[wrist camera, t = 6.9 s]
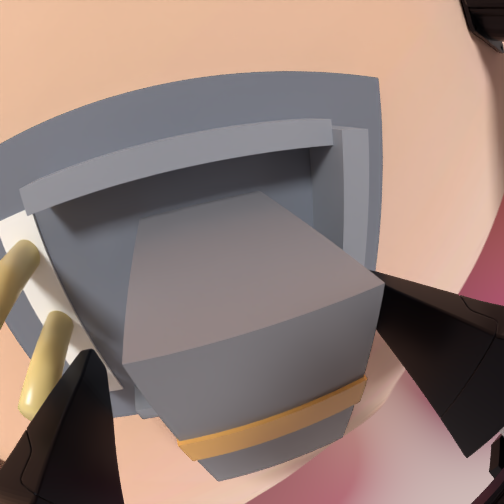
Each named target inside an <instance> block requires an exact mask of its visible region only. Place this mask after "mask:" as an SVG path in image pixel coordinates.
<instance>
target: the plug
mask: <svg viewBox="0 0 504 504" xmlns="http://www.w3.org/2000/svg"><path fill="white" fill-rule="evenodd" d="M384 286H385V283H384V282H383V281H382V280H381V279H379V278H378V277H377V276H376V275H374V274H373V273H372V272H371V271H369V270H368V269H367V268H365V267H364V266H363V265H362V264H360V263H359V262H358V261H356V260H355V259H354V258H352V257H351V256H350V255H349V254H347V253H346V252H345V251H343V250H342V249H341V248H339V247H338V246H337V245H335V244H334V243H333V242H331V241H330V240H329V239H327V238H326V237H325V236H323V235H322V234H320V233H319V232H318V231H316V230H315V229H314V228H312V227H311V226H309V225H308V224H307V223H305V222H304V221H302V220H301V219H300V218H298V217H297V216H295V215H294V214H293V213H291V212H290V211H288V210H287V209H286V208H284V207H283V206H281V205H280V204H278V203H277V202H275V201H274V200H273V199H271V198H270V197H268V196H267V195H265V194H264V193H262V192H261V191H255V192H250V193H245V194H240V195H236V196H231V197H226V198H222V199H217V200H213V201H209V202H204V203H200V204H196V205H191V206H187V207H183V208H179V209H175V210H171V211H167V212H163V213H159V214H156V215H152V216H148V217H144V218H141V219H140V220H139V225H138V230H137V235H136V241H135V247H134V253H133V259H132V265H131V272H130V279H129V287H128V295H127V304H126V314H125V326H124V339H123V357H122V365H123V367H124V368H125V370H126V371H127V373H128V374H129V376H130V377H131V379H132V380H133V382H134V383H135V385H136V386H137V387H138V389H139V390H140V392H141V393H142V394H143V396H144V397H145V399H146V400H147V401H148V403H149V404H150V405H151V407H152V408H153V409H154V411H155V412H156V413H157V414H158V416H159V417H160V418H161V420H162V421H163V422H164V423H165V424H166V426H167V427H168V428H169V429H170V431H171V432H172V433H173V434H174V435H175V436H176V438H177V443H178V446H179V447H180V448H181V449H182V450H183V452H184V453H185V454H186V455H187V456H188V457H189V458H190V459H191V460H192V461H196V460H197V461H198V462H199V463H200V464H201V465H202V466H203V467H204V468H205V469H206V470H207V471H208V472H209V473H210V474H211V475H212V476H213V477H214V478H215V479H216V480H217V481H218V482H219V481H223V480H227V479H231V478H235V477H239V476H243V475H246V474H250V473H253V472H257V471H260V470H263V469H266V468H269V467H272V466H275V465H278V464H281V463H284V462H287V461H289V460H292V459H295V458H297V457H300V456H302V455H305V454H307V453H309V452H312V451H314V450H317V449H319V448H321V447H323V446H326V445H328V444H330V443H332V442H334V441H336V440H338V439H340V438H342V437H343V435H344V432H345V430H346V427H347V424H348V422H349V419H350V416H351V414H352V411H353V408H354V405H355V404H357V403H358V402H360V400H361V397H362V395H363V392H364V389H365V386H366V383H367V380H368V379H367V378H366V376H365V375H364V373H365V370H366V366H367V363H368V359H369V355H370V351H371V347H372V343H373V339H374V335H375V331H376V327H377V322H378V317H379V313H380V308H381V303H382V297H383V292H384Z"/></svg>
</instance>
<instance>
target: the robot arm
mask: <svg viewBox="0 0 504 504" xmlns="http://www.w3.org/2000/svg"><path fill="white" fill-rule="evenodd" d="M462 3H463V7H464V10H465V14H466V18H467V22H468V25H469V28H470V30H471V31H472V32H473V33H474V34H475V35H477V36H478V37H480V38H481V39H482V40H484V41H485V42H486V43H488V44H489V45H490V46H491V47H493V48H494V49H495V50H496V51H498V52H499V53H504V49H503V44H502V41H503V42H504V0H462ZM369 271H371V272H372V273H373V274H374V275H376V276H377V277H378V278H379V279H381V280H382V281H383V282H384V283H385V286H384V292H383V297H382V303H381V308H380V313H379V317H378V322H377V327H376V329H377V331H378V333H379V334H380V335H381V337H382V338H383V339H384V341H385V342H386V343H387V345H388V346H389V347H390V349H391V350H392V351H393V353H394V354H395V355H396V357H397V358H398V359H399V361H400V362H401V363H402V365H403V366H404V367H405V369H406V370H407V371H408V373H409V374H410V376H411V377H412V378H413V380H414V381H415V382H416V384H417V385H418V387H419V388H420V390H421V391H422V392H423V394H424V395H425V397H426V398H427V399H428V401H429V402H430V404H431V405H432V407H433V408H434V410H435V411H436V413H437V414H438V415H439V417H440V418H441V420H442V422H443V423H444V425H445V426H446V428H447V429H448V431H449V432H450V434H451V435H452V437H453V438H454V440H455V441H456V443H457V444H458V446H459V448H460V449H461V451H462V453H463V454H464V455H465V457H466V458H468V457H469V456H471V455H472V454H473V453H474V452H476V451H477V450H478V449H479V448H481V447H482V446H483V445H484V444H485V443H487V442H488V441H489V440H490V439H491V438H492V437H493V436H494V435H495V434H497V433H498V432H500V433H501V434H500V435H499V436H498V437H497V439H496V440H495V441H494V442H493V444H492V445H491V458H490V468H489V472H490V474H491V475H492V476H493V477H494V480H493V481H492V482H491V483H490V485H489V486H488V487H487V488H486V489H485V490H484V491H483V492H482V493H481V494H480V495H479V496H478V497H477V498H476V499H475V500H474V501H473V502H472V503H471V504H504V306H501V305H496V304H492V303H488V302H483V301H479V300H476V299H472V298H468V297H465V296H462V295H460V296H459V295H458V294H454V293H451V292H447V291H444V290H440V289H437V288H433V287H430V286H426V285H423V284H419V283H415V282H412V281H408V280H405V279H401V278H398V277H394V276H390V275H387V274H383V273H379V272H376V271H372V270H369ZM0 504H124V500H123V495H122V489H121V483H120V477H119V470H118V463H117V455H116V446H115V435H114V422H113V412H112V405H111V398H110V391H109V384H108V375H107V370H106V367H105V365H104V364H103V362H102V361H101V359H100V358H99V356H98V355H97V353H96V352H95V350H93V349H85V350H82V351H80V352H79V354H78V355H77V356H76V358H75V359H74V360H73V362H72V363H71V364H70V366H69V367H68V369H67V370H66V371H65V373H64V374H63V375H62V377H61V378H60V380H59V381H58V382H57V384H56V385H55V387H54V388H53V390H52V391H51V392H50V394H49V395H48V397H47V398H46V400H45V401H44V403H43V404H42V406H41V407H40V409H39V410H38V412H37V413H36V415H35V416H34V418H33V419H32V421H31V422H30V424H29V426H28V427H27V430H25V432H24V434H23V435H22V437H21V438H20V440H19V442H18V443H17V445H16V446H15V448H14V450H13V451H12V453H11V454H10V455H9V457H8V458H7V460H6V461H5V463H4V464H3V466H2V467H1V469H0Z"/></svg>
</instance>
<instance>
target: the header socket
mask: <svg viewBox="0 0 504 504" xmlns="http://www.w3.org/2000/svg"><path fill="white" fill-rule="evenodd" d="M382 169H383V152H382V119H381V103H380V91H379V81H378V78H375V77H368V76H360V75H351V74H340V73H326V72H302V71H276V72H251V73H237V74H226V75H217V76H209V77H201V78H194V79H188V80H182V81H176V82H171V83H166V84H161V85H156V86H152V87H147V88H143V89H139V90H135V91H131V92H127V93H124V94H120V95H117V96H113V97H110V98H106V99H103V100H100V101H97V102H94V103H91V104H88V105H85V106H82V107H80V108H77V109H74V110H72V111H69V112H66V113H64V114H61V115H59V116H56V117H54V118H52V119H49V120H47V121H45V122H43V123H40V124H38V125H36V126H34V127H32V128H30V129H28V130H26V131H24V132H22V133H20V134H18V135H16V136H14V137H12V138H10V139H8V140H6V141H5V142H3V143H1V144H0V329H1V327H2V325H3V323H4V322H6V324H7V325H8V327H9V329H10V330H11V332H12V333H13V335H14V336H15V338H16V339H17V341H18V342H19V344H20V345H21V347H22V348H23V350H24V351H25V352H26V354H27V355H28V356H29V358H30V359H31V361H30V365H29V368H28V371H27V374H26V378H25V381H24V385H23V388H22V392H21V396H20V400H19V404H18V409H19V411H20V413H21V414H22V415H23V416H24V417H26V418H27V419H28V420H30V421H32V419H33V418H34V416H35V415H36V413H37V412H38V410H39V409H40V407H41V406H42V404H43V403H44V401H45V400H46V398H47V397H48V395H49V394H50V392H51V391H52V390H53V388H54V387H55V385H56V384H57V382H58V381H59V380H60V378H61V377H62V375H63V374H64V373H65V371H66V370H67V369H68V367H69V366H70V364H71V363H72V362H73V360H74V359H75V358H76V356H77V355H78V354H79V352H80V351H82V350H85V349H93V350H95V352H96V353H97V355H98V356H99V358H100V359H101V361H102V362H103V364H104V365H105V367H106V370H107V375H108V384H109V391H110V398H111V405H112V412H113V418H115V417H122V416H129V415H136V414H139V415H140V417H141V418H142V419H147V418H153V417H159V416H158V414H157V413H156V412H155V411H154V409H153V408H152V407H151V405H150V404H149V403H148V401H147V400H146V399H145V397H144V396H143V394H142V393H141V392H140V390H139V389H138V387H137V386H136V385H135V383H134V382H133V380H132V379H131V377H130V376H129V374H128V373H127V371H126V370H125V368H124V367H123V365H122V357H123V339H124V326H125V314H126V304H127V295H128V287H129V279H130V272H131V265H132V259H133V253H134V247H135V241H136V235H137V230H138V225H139V220H140V219H141V218H144V217H148V216H152V215H156V214H159V213H163V212H167V211H171V210H175V209H179V208H183V207H187V206H191V205H196V204H200V203H204V202H209V201H213V200H217V199H222V198H226V197H231V196H236V195H240V194H245V193H250V192H255V191H261V192H262V193H264V194H265V195H267V196H268V197H270V198H271V199H273V200H274V201H275V202H277V203H278V204H280V205H281V206H283V207H284V208H286V209H287V210H288V211H290V212H291V213H293V214H294V215H295V216H297V217H298V218H300V219H301V220H302V221H304V222H305V223H307V224H308V225H309V226H311V227H312V228H314V229H315V230H316V231H318V232H319V233H320V234H322V235H323V236H325V237H326V238H327V239H329V240H330V241H331V242H333V243H334V244H335V245H337V246H338V247H339V248H341V249H342V250H343V251H345V252H346V253H347V254H349V255H350V256H351V257H352V258H354V259H355V260H356V261H358V262H359V263H360V264H362V265H363V266H364V267H365V268H367V269H368V270H372V271H375V269H376V261H377V252H378V243H379V232H380V219H381V202H382Z"/></svg>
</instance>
